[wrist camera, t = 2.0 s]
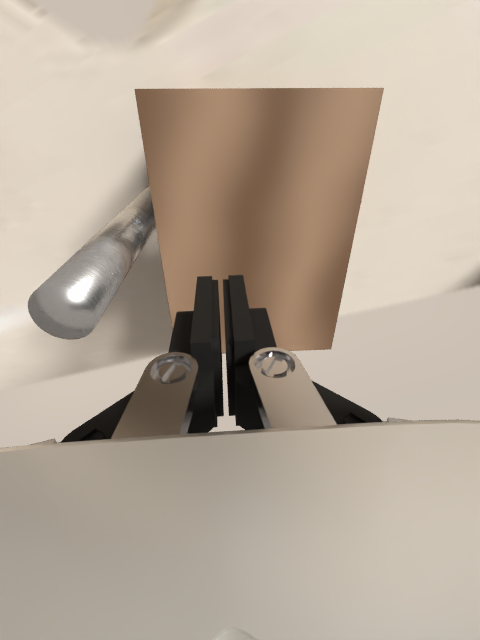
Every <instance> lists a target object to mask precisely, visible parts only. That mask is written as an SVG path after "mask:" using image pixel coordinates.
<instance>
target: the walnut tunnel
mask: <svg viewBox="0 0 480 640" xmlns="http://www.w3.org/2000/svg"><path fill="white" fill-rule="evenodd" d="M383 90H384V88H252V89H135V95H136V101H137V108H138V114H139V120H140V127H141V133H142V139H143V146H144V152H145V158H146V165H147V171H148V177H149V184H150V190H151V196H152V203H153V209H154V215H155V222H156V228H157V234H158V241H159V247H160V253H161V260H162V266H163V272H164V279H165V285H166V291H167V298H168V304H169V310H170V317H171V323H172V329H173V327H174V322H175V317H176V313H177V312H178V311H194V302H195V292H196V283H197V276H212V280H218V288H219V307H220V327H221V348H222V353H226V344H225V321H224V297H223V279H228V275H243V277H244V283H245V288H246V294H247V299H248V305H249V308H266V310H267V313H268V317H269V320H270V324H271V328H272V331H273V335H274V339H275V342H276V346H277V348H283V349H285V350H288V351H298V350H325V349H331V347H332V342H333V337H334V332H335V327H336V322H337V317H338V312H339V307H340V303H341V298H342V293H343V288H344V283H345V278H346V273H347V268H348V263H349V258H350V253H351V248H352V243H353V238H354V233H355V228H356V223H357V218H358V214H359V209H360V204H361V199H362V194H363V189H364V184H365V179H366V174H367V169H368V164H369V159H370V154H371V149H372V144H373V139H374V134H375V129H376V125H377V120H378V115H379V110H380V105H381V100H382V95H383Z"/></svg>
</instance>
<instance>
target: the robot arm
mask: <svg viewBox="0 0 480 640" xmlns="http://www.w3.org/2000/svg"><path fill="white" fill-rule="evenodd" d="M223 297H224V321H225V344H226V362H227V363H226V365H227V384H228V406H229V416H233V415H235V417H236V426H241V427H242V428H244V429H245V430H240V431H224V432H210V433H208V432H209V431H210V430H211V429H212V428H213V427H217V416H223V415H224V413H223V381H222V348H221V327H220V307H219V288H218V280H212V276H197V283H196V292H195V302H194V311H178V312H177V313H176V317H175V322H174V327H173V332H172V337H171V343H170V348H169V353H166V354H162V355H160V356H158V357H156V358H155V359H153V360H152V361H151V362H150V363H149V364H148V365H147V367H146V368H145V370H144V373H143V374H142V376H141V378H140V381H139V383H138V385H137V387H136V389H135V391H133V392H132V393H130V394H129V395H127V396H126V397H124V398H122V399H121V400H119V401H118V402H116V403H115V404H113V405H112V406H110V407H109V408H107V409H105V410H104V411H103V412H101V413H99V414H98V415H96V416H95V417H93V418H92V419H90V420H88V421H87V422H85V423H84V424H82V425H81V426H79V427H78V428H76V429H75V430H73V431H72V432H71V433H69V434H68V435H67V436H66V437H65V438H64V439H63V440H62V441H61V442H58V443H57V442H56V441H55V439H51V440H47V441H43V442H40V443H36V444H31V445H27V446H16V447H6V448H0V640H480V421H471V420H421V421H420V420H419V421H411V420H403V419H395V418H388V419H387V422H386V421H382V420H381V419H380V418H378V417H377V416H376V415H374V414H373V413H371V412H370V411H368V410H366V409H364V408H362V407H361V406H359V405H357V404H355V403H353V402H351V401H349V400H347V399H345V398H344V397H342V396H340V395H338V394H336V393H334V392H332V391H330V390H328V389H327V388H325V387H323V386H321V385H319V384H317V383H315V382H313V381H311V379H310V377H309V376H308V374H307V372H306V371H305V369H304V367H303V365H302V364H301V362H300V360H299V359H298V358H297V356H296V355H295V354H293V353H292V352H290V351H288V350H285V349H283V348H277V346H276V342H275V339H274V335H273V331H272V328H271V324H270V320H269V317H268V313H267V310H266V308H249V305H248V299H247V294H246V288H245V283H244V277H243V275H228V279H223Z"/></svg>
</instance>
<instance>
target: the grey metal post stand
mask: <svg viewBox="0 0 480 640" xmlns="http://www.w3.org/2000/svg"><path fill="white" fill-rule="evenodd" d="M155 227H156V222H155V215H154V209H153V203H152V196H151V190H150V185H149V186H148V187H147V188H146V189H145V190H143V191H142V192H141V193H140V194H139V195H138V196H137V197H136V198H135V199H134V200H133V201H132V202H131V203H129V204H128V205H127V206H126V207H125V208H124V209H123V210H122V211H121V212H120V213H119V214H118V215H117V216H115V217H114V218H113V219H112V220H111V221H110V222H109V223H108V224H107V225H106V226H105V227H104V228H102V229H101V230H100V231H99V232H98V233H97V234H96V235H95V236H94V237H93V238H92V239H91V240H90V241H88V242H87V243H86V244H85V245H84V246H83V247H82V248H81V249H80V250H79V251H78V252H77V253H76V254H74V255H73V256H72V257H71V258H70V259H69V260H68V261H67V262H66V263H65V264H64V265H63V266H62V267H60V268H59V269H58V270H57V271H56V272H55V273H54V274H53V275H52V276H51V277H50V278H49V279H47V280H46V281H45V282H44V283H43V284H42V285H41V286H40V287H39V288H38V289H37V290H36V291H35V292H33V294H32V295H31V296H30V298H29V301H28V310H29V313H30V316H31V318H32V319H33V321H34V322H35V323H36V324H37V325H38V326H39V327H40V328H41V329H42V330H44V331H45V332H47V333H49V334H51V335H53V336H55V337H58V338H62V339H79V338H83V337H85V336H87V335H88V334H90V333H91V332H92V330H93V329H94V327H95V326H96V324H97V322H98V321H99V319H100V317H101V316H102V314H103V312H104V311H105V309H106V308H107V306H108V304H109V303H110V301H111V299H112V298H113V296H114V294H115V293H116V291H117V289H118V288H119V286H120V284H121V283H122V281H123V279H124V278H125V276H126V275H127V273H128V271H129V270H130V268H131V266H132V265H133V263H134V261H135V260H136V258H137V256H138V255H139V253H140V251H141V250H142V248H143V246H144V245H145V243H146V242H147V240H148V238H149V237H150V235H151V233H152V232H153V230H154V228H155Z"/></svg>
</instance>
